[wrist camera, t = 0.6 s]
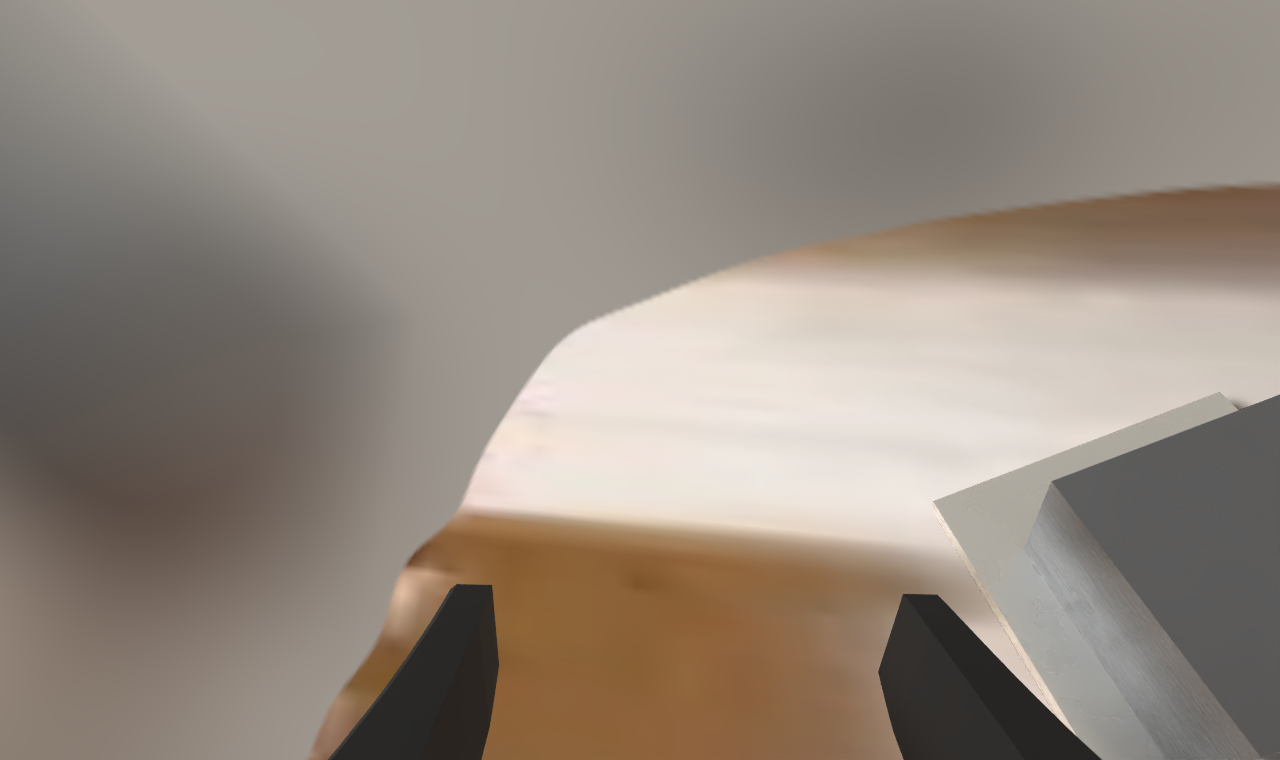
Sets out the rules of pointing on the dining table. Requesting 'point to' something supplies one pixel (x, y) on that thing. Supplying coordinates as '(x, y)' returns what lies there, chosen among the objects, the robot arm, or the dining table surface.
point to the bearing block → (1143, 581)
